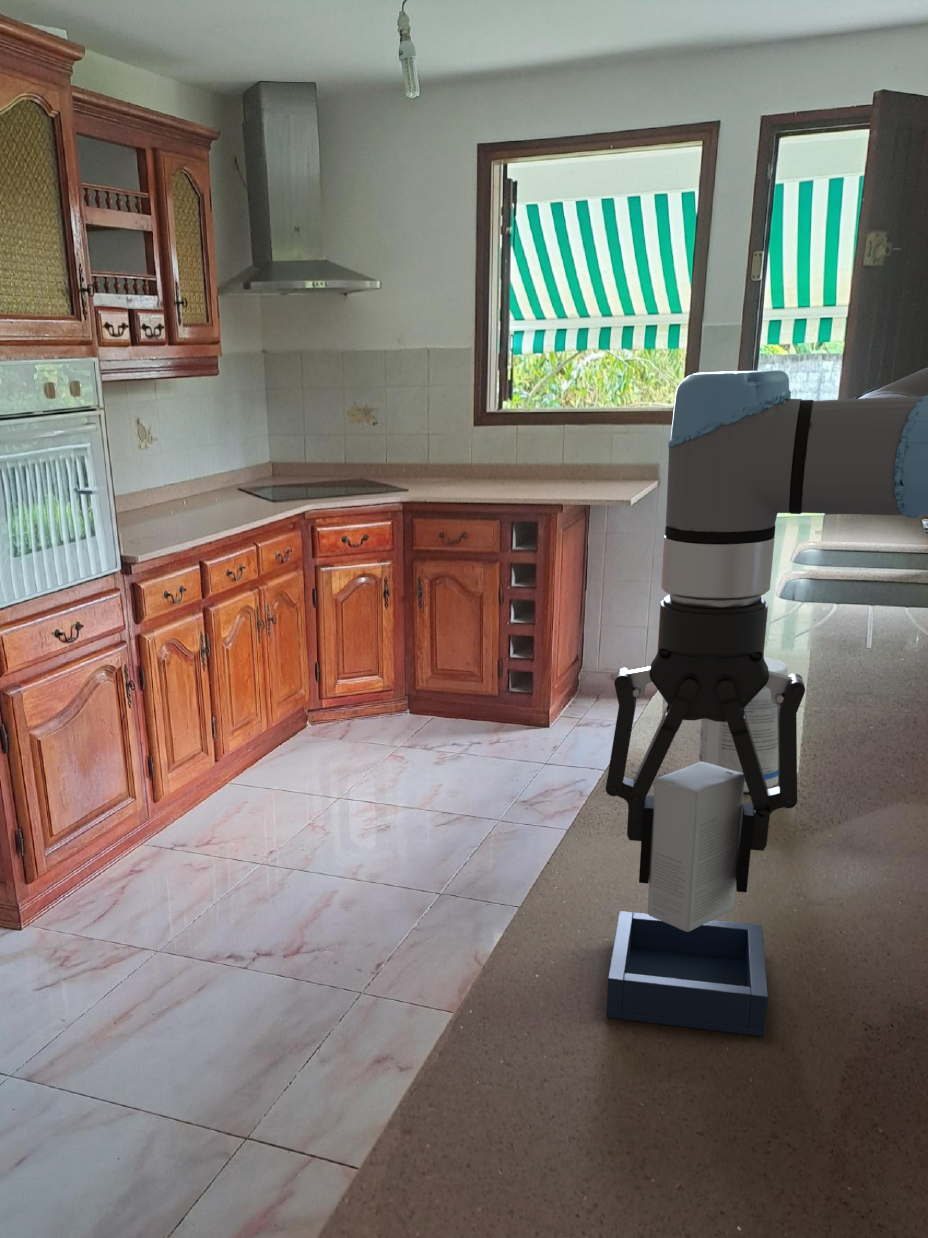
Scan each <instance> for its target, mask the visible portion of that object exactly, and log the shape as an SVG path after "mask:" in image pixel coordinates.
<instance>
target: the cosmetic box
mask: <svg viewBox="0 0 928 1238" xmlns="http://www.w3.org/2000/svg"><path fill="white" fill-rule="evenodd" d="M653 783H654V785H653V796H654V801H653V821H652V839H651V857H650V876H649V884H648V897H647V914H648V915H649V916H651V917H653V918H656V919H658V920H661V921H663V922H665V923H668V924H670V925H672V926H674V927H677V928H679V929H681V930H683V931H686V932H690V931H691V930H693V929H695V928H697V927H699V926H701V925H703V924H705V923H707V922H709V921H711V920H716V919H717V918H719V917H721V916H722V915H725V914H727V913H729V912H731V911H733V910H734V908H735V896H736V872H737V861H738V849H739V838H740V827H741V816H742V805H743V802H744V801H743V800H744V792H743V790H744V774H743V773H740V772H737V771H733V770H730V769H726V768H723V767H720V766H716V765H713V764H710V763H706V762H699V761H698V762H696V763H694V764H691V765H688V766H686V767H683V768H680V769H678V770H677V769H676V770H675V771H672V772H670V773H669V772H668V773H667V774H665V775H662V776H659V777H655V779H654V781H653Z"/></svg>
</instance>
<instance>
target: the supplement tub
mask: <svg viewBox="0 0 928 1238" xmlns="http://www.w3.org/2000/svg"><path fill="white" fill-rule="evenodd" d="M764 660H765V663H766V664H767V666H768V671H772V672H775V673H779V674H783V675H786V676H788V665H787V664H786V663H784V662H783V661H781V660H778V659H775V658H769V657H764ZM777 707H778V705H777V704H775V703H774V702H773V701H772V700H771V691H770V689H769V688H768V687H766V686H764V687H763V688H762V690H761V691H760V692H759V693H758V694H757V695H756V696H755V697H754V698H753V699H752V700H751V701H750V703H749V704H748V705H747V706H746V707H745V708H744V710H745V713H746V717H747V721H748V725H749V728H750V731H751V735H752V738H753V741H754V745H755V748H756V751H757V755H758V758H759V761H760V765H761V768H762V771H763V775H764V778H765V781H766V785H767V788H768V789H771V788H774V787H776V785H778V725H777ZM699 733H700V735H699V750H698V751H699V753H698V762H706V763H710V764H713V765H716V766H720V767H723V768H726V769H730V770H733V771H737V772H740V773H743V770H742V767H741V764H740V760H739V757H738V754H737V751H736V747H735V744H734V741H733V738H732V735H731V733H730V729H729V726H728V723H727V722H716V721H712V720H709V719H700V732H699ZM743 793H749V790H748V787H747V783H746V780H745V777H744V790H743Z"/></svg>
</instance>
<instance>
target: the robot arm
mask: <svg viewBox="0 0 928 1238" xmlns="http://www.w3.org/2000/svg"><path fill="white" fill-rule="evenodd" d="M791 396H792V391H791V390H790V378H789V376H788V374H787V373H786V372H785V371H783V370H779V369H773V370H772V369H770V370H769V369H767V370H764V369H763V370H730V371H729V370H727V371H709V372H696V373H692V374H689V375H688V376H686V377H684V378H683V379H682V380H681V382H679V384H678V386H677V388H676V390H675V397H674V405H673V415H672V424H671V433H670V439H669V440H668V444H667V445H668V446H667V448H668V463H667V464H668V467H667V469H668V470H667V487H666V508H665V509H666V510H665V511H666V512H665V528H664V537H663V551H662V552H663V553H662V569H661V571H662V572H661V589H662V590H663V592H664V593H666V594H668V595H666V596H665V597H664V598H663V599H662V600H661V601H660V606H659V620H658V621H659V623H658V641H657V651H656V655H655V657H654V659H653V660H652V662H651V663H650V666H646V667H641V668H636V669H630V668H629V667H622V668H621V667H620V668H619V669H618V670H617V673H616V675H615V679H614V690H615V693H616V698H617V703H618V709H617V715H616V722H615V728H614V734H613V739H612V746H611V752H610V758H609V766H608V772H607V776H606V777H607V778H606V782H605V783H606V784H605V792H606V794H607V795H608V796H610V797H618V798H621V799H623V800H625V802H626V803H627V807H628V808H627V826H626V836H627V838H628V841H633V842H634V841H636V842H640V857H639V874H638V883H639V884H647V885H649V876H650V857H651V839H652V821H653V801H654V795H648V794H649V792H650V789H651V788H652V786H653V783H654V780H655V779H656V778H657V775H658V772H659V771H660V768H661V766H662V764H663V762H664V759H665V758H666V755H667V754H668V751H669V749H670V747H671V745H672V742H673V741H674V738H675V736H676V735H677V732H678V731H679V729H680V727H681V725H682V723H683V721H699V720H701V719H709V720H712V721H716V722H727V723H728V726H729V729H730V733H731V735H732V738H733V741H734V744H735V747H736V751H737V754H738V757H739V760H740V764H741V767H742V770H743V774H744V777H745V780H746V783H747V787H748V790H749V792H748V793H749V796H750V800H751V802H744V801H743V802H742V813H741V825H740V837H739V849H738V861H737V872H736V886H735V892H736V893H745V894H746V893H747V892H748V884H749V883H748V882H749V874H750V863H751V852H752V851H760V852H761V851H762V852H764V851H765V849H766V847H767V845H768V835H769V826H770V825H769V824H770V817H771V814H772V813H773V812H774V811H775V810H779V809H783V808H784V809H792V808H795V807H796V806H797V804H798V743H797V742H798V735H797V734H798V733H797V731H798V728H797V726H798V725H797V719H798V718H797V713H798V711H799V709H800V706H801V702H802V701H803V698H804V695H805V693H806V687H805V683H804V680H803V677H802V676H801V674H798V673H791V674H789V675H787V676H786V675H783V674H779V673H775V672H772V671H768V666H767V664H766V663H765V660H764V658H765V644H766V634H767V623H768V614H769V613H768V612H769V603H768V602H767V601H766V599H765V598H764V597H762V596H763V595H765V594H767V593H768V592H769V591H770V590H771V581H772V570H773V562H774V561H773V558H774V550H775V549H774V548H775V539H776V537H775V536H776V521H777V517H778V514H790V515H801V514H827V515H828V514H829V515H830V514H831V515H832V514H833V515H865V516H867V515H869V516H905V519H906V518H907V519H916V518H918V517H920V516H928V367H926V368H923V369H921V370H919V371H917V372H913V373H912V374H909V375H907V376H905V377H903V378H901V379H899V380H896V381H894V382H892V383H889V384H887V385H884V386H877V387H874V388H872V389H869V390H867V391H865V392H863V393H861V394H859V395H856V396H854V397H853V398H841V399H824V400H813V399H802V398H791ZM650 683H653V685H654V686H655V688H656V690H657V691H658V693H659V694H660V695H661V697H663V700H664V702H666V704H667V705H666V707H665V709H664V712H663V715H662V717H661V719H660V722H659V724H658V726H657V728H656V730H655V732H654V734H653V737H652V739H651V742H650V743H649V746H648V748H647V750H646V752H645V754H644V757H643V759H642V761H641V762H640V765H639V767H638V769H637V772H636V774H635V776H634V778H633V779H631V778H628V777H625V772H626V768H627V761H628V755H629V748H630V743H631V738H632V737H631V736H632V732H633V731H632V730H633V726H634V719H635V714H636V707H637V699H640V698H642V697H643V696H644V695H645V691H646V686H647V685H648V684H650ZM764 686H766V687H768V688H769V689H770V691H771V700H772V701H773V702H774V703H775V704H777V705H778V707H777V725H778V783H777V785H778V786H774V787H771V788H769V789H768V788H767V785H766V781H765V778H764V775H763V771H762V768H761V765H760V761H759V758H758V755H757V751H756V748H755V745H754V741H753V738H752V735H751V731H750V728H749V725H748V721H747V717H746V713H745V710H744V708H745V707H746V706H747V705H748V704H749V703H750V701H751V700H752V699H753V698H754V697H755V696H756V695H757V694H758V693H759V692H760V691H761V690H762V688H763V687H764Z"/></svg>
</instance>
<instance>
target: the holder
mask: <svg viewBox="0 0 928 1238" xmlns="http://www.w3.org/2000/svg"><path fill="white" fill-rule="evenodd" d="M764 943H765V942H764V929H763V925H762V924H758V923H746V922H737V921H726V920H716V919H713V920H711V921H709V922H707V923H705V924H703V925H701V926H699V927H697V928H695V929H693V930H691V931H690V932H686V931H683V930H681V929H679V928H677V927H674V926H672V925H670V924H668V923H665V922H663V921H661V920H658V919H656V918H653V917H651V916H649V915H648V913H642V912H633V911H624V910H623V911H622V910H620V911H619V912H618V917H617V922H616V928H615V935H614V941H613V947H612V951H611V952H612V953H611V958H610V963H609V969H608V976H607V988H606V989H607V990H606V991H607V992H606V1011H605V1012H606V1014H605V1016H606V1018H608V1019H618V1020H625V1021H632V1022H633V1021H634V1022H643V1023H650V1024H659V1025H667V1026H675V1027H681V1028H688V1029H689V1028H690V1029H698V1030H705V1031H712V1032H713V1031H714V1032H720V1033H721V1032H722V1033H731V1034H738V1035H739V1034H740V1035H746V1036H754V1037H761V1038H762V1037H763V1038H764V1037H765V1031H766V1021H767V1012H768V1011H767V1010H768V1002H769V993H768V992H769V991H768V979H767V967H766V957H765V956H766V954H765V944H764Z"/></svg>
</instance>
